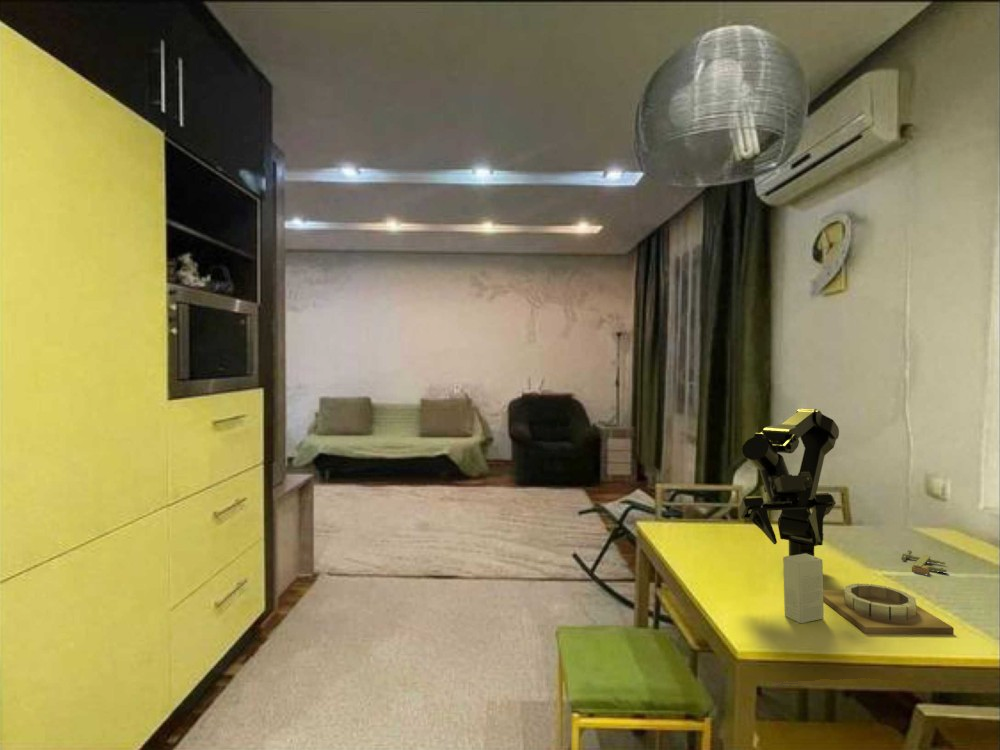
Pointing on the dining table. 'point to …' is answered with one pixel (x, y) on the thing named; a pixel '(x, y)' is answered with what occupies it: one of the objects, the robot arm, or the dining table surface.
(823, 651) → the dining table surface
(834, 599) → the walnut fitting board
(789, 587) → the skincare box
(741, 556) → the dining table surface
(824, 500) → the robot arm
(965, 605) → the dining table surface
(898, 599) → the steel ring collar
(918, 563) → the clamp
